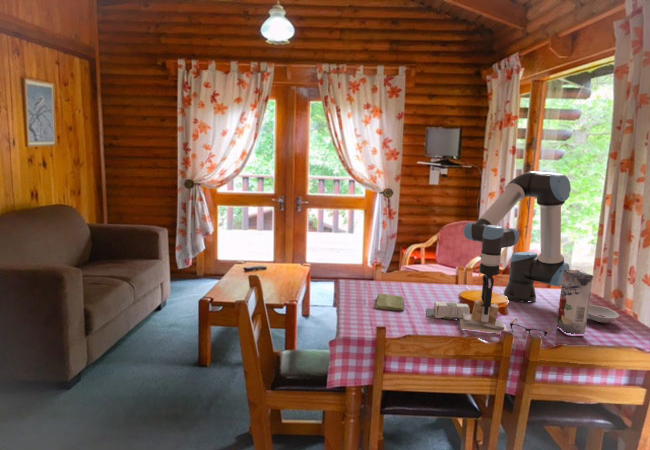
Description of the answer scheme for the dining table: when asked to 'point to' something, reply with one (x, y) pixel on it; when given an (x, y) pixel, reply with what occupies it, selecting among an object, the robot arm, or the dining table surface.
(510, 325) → the eyeglasses
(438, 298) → the dining table surface
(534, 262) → the robot arm
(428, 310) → the mat
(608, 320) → the dish
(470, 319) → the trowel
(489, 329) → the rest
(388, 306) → the washcloth
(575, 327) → the juice carton
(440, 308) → the syrup box
